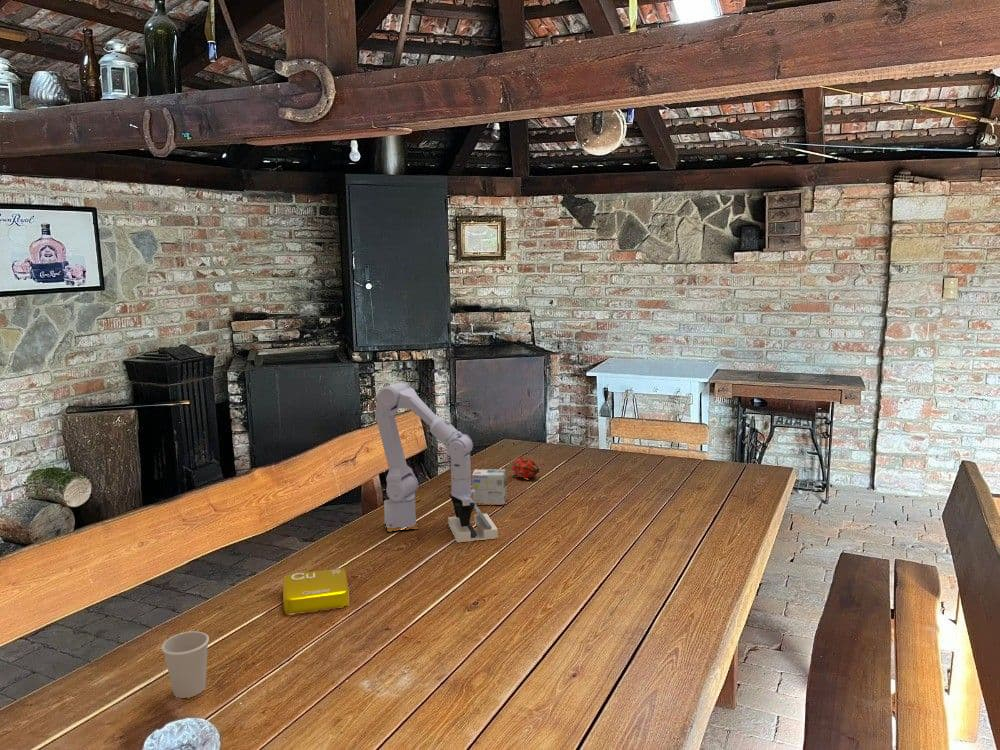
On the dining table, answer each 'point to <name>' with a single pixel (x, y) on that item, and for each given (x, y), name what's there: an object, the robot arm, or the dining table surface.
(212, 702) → the dining table surface
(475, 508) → the duct cover
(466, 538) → the base
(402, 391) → the robot arm
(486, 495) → the light bulb box
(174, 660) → the dixie cup
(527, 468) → the dragon fruit
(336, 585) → the element tile
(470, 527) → the dark grey rod
